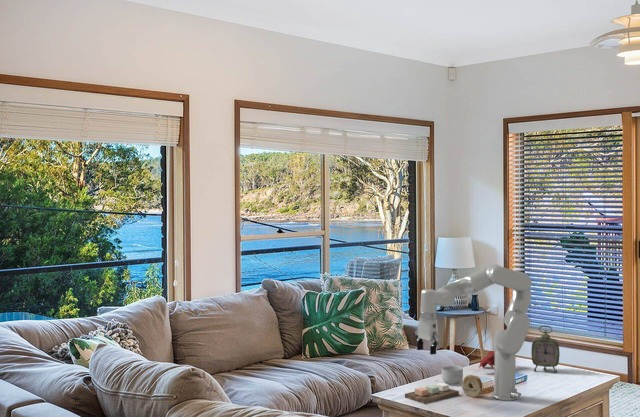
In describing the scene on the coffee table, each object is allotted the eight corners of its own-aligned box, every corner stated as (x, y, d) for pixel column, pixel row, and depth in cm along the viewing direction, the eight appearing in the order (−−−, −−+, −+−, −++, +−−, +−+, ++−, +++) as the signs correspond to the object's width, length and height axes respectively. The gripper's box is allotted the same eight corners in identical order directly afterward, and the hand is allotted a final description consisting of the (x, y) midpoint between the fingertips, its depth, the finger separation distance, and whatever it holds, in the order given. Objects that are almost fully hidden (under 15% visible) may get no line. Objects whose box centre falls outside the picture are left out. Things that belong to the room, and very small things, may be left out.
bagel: (484, 397, 329) (484, 376, 329) (479, 399, 327) (479, 377, 327) (465, 393, 337) (465, 372, 337) (461, 394, 334) (461, 373, 334)
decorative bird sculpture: (475, 381, 375) (491, 364, 368) (464, 367, 380) (480, 350, 373) (504, 372, 394) (520, 356, 387) (494, 359, 399) (510, 343, 392)
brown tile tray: (458, 394, 333) (458, 391, 333) (423, 403, 319) (423, 399, 319) (440, 389, 343) (440, 385, 343) (404, 397, 328) (404, 393, 328)
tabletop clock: (531, 371, 379) (531, 326, 379) (531, 368, 388) (531, 323, 387) (559, 374, 375) (560, 327, 374) (558, 370, 384) (559, 324, 383)
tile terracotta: (428, 394, 326) (428, 389, 326) (421, 396, 324) (421, 390, 324) (421, 392, 330) (421, 387, 330) (414, 394, 327) (414, 388, 327)
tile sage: (438, 392, 330) (438, 387, 330) (432, 393, 328) (432, 388, 328) (431, 390, 334) (432, 384, 334) (425, 391, 331) (425, 386, 331)
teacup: (456, 387, 347) (457, 371, 347) (437, 383, 354) (437, 367, 354) (469, 381, 358) (469, 365, 358) (449, 378, 365) (450, 362, 365)
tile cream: (448, 389, 335) (448, 384, 335) (442, 391, 332) (442, 386, 332) (442, 387, 338) (442, 382, 338) (435, 389, 336) (435, 384, 335)
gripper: (446, 318, 323) (444, 355, 324) (422, 312, 338) (421, 347, 339) (433, 319, 320) (431, 356, 320) (410, 313, 335) (408, 348, 335)
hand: (426, 351), depth 329 cm, fingers open, 9 cm apart
